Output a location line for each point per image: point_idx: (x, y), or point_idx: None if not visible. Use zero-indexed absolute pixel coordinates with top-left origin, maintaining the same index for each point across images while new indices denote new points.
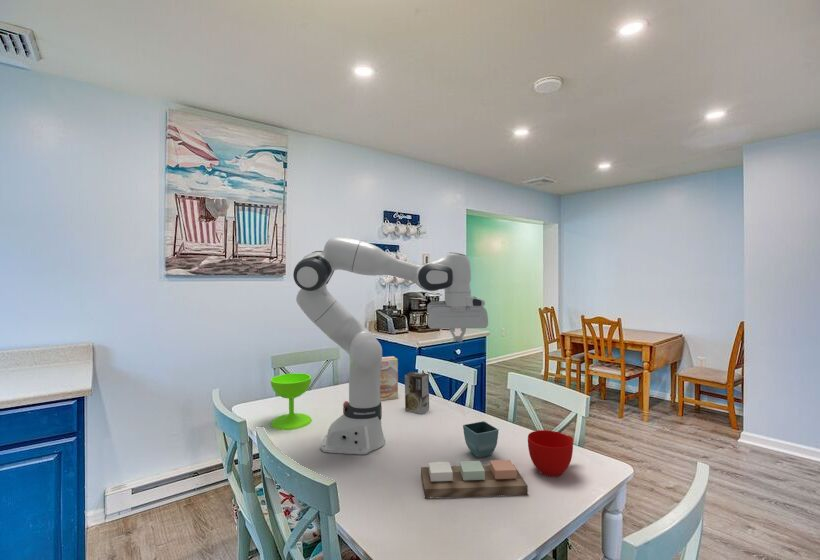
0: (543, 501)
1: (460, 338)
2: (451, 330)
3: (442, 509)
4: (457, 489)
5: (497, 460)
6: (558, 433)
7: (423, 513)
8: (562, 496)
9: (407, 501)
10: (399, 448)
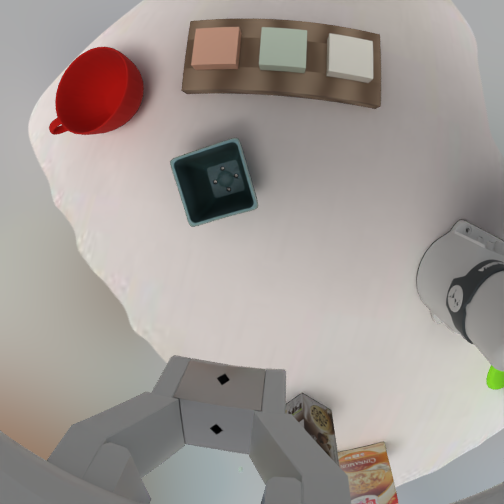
0: (179, 13)
1: (189, 381)
2: (338, 498)
3: (349, 10)
4: (321, 24)
5: (219, 62)
6: (62, 122)
7: (378, 11)
8: (144, 27)
9: (402, 42)
10: (397, 236)
